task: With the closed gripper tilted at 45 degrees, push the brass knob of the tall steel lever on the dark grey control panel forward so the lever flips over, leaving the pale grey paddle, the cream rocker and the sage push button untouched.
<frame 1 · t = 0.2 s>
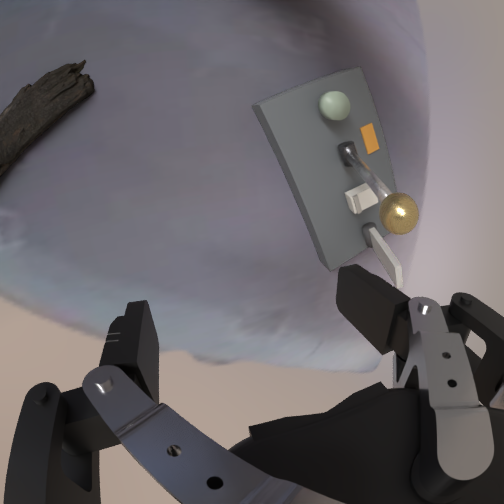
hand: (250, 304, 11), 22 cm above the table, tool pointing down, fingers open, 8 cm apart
wood: (20, 126, 20), on the table
control panel: (336, 168, 34), on the table
push button: (331, 105, 25), point 4 cm above the table, slide at 0.0 cm
brass lever: (369, 177, 23), point 11 cm above the table, hinge at -20.0°
cream rocker: (362, 197, 31), point 5 cm above the table, hinge at -8.0°
pale grey paddle: (382, 251, 31), point 8 cm above the table, hinge at -15.0°
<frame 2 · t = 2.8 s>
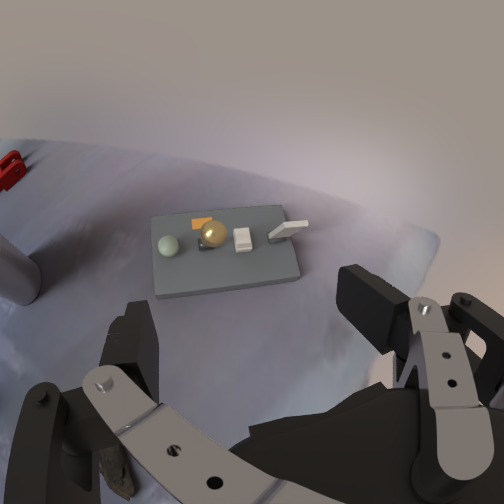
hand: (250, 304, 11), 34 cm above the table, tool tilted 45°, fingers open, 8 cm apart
wood: (107, 445, 32), on the table
mechanical linkage: (4, 185, 45), on the table
control panel: (222, 252, 48), on the table
push button: (168, 248, 42), point 4 cm above the table, slide at 0.0 cm
brass lever: (209, 239, 37), point 11 cm above the table, hinge at -20.0°
cream rocker: (242, 239, 45), point 5 cm above the table, hinge at -8.0°
pale grey paddle: (284, 231, 43), point 8 cm above the table, hinge at -15.0°
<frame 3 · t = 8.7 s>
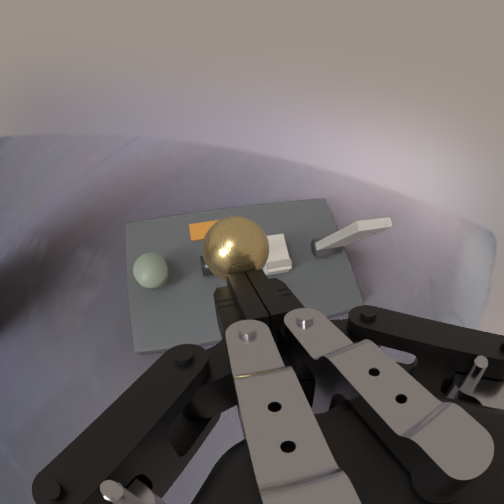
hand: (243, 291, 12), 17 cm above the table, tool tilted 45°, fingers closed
control panel: (240, 275, 31), on the table
push button: (152, 273, 25), point 4 cm above the table, slide at 0.0 cm
brass lever: (221, 259, 19), point 11 cm above the table, hinge at -20.0°, touching gripper
cream rocker: (274, 254, 27), point 5 cm above the table, hinge at -8.0°
pale grey paddle: (345, 237, 25), point 8 cm above the table, hinge at -15.0°
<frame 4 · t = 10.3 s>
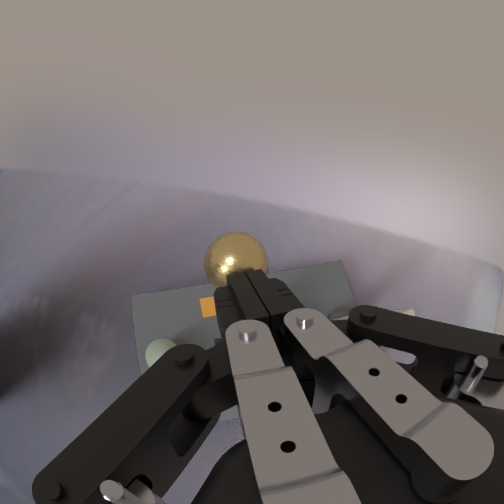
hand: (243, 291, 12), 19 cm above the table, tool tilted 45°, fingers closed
control panel: (253, 346, 29), on the table
push button: (165, 357, 23), point 4 cm above the table, slide at 0.0 cm
brass lever: (231, 318, 18), point 12 cm above the table, hinge at 9.2°, touching gripper
pale grey paddle: (364, 319, 23), point 8 cm above the table, hinge at -15.0°
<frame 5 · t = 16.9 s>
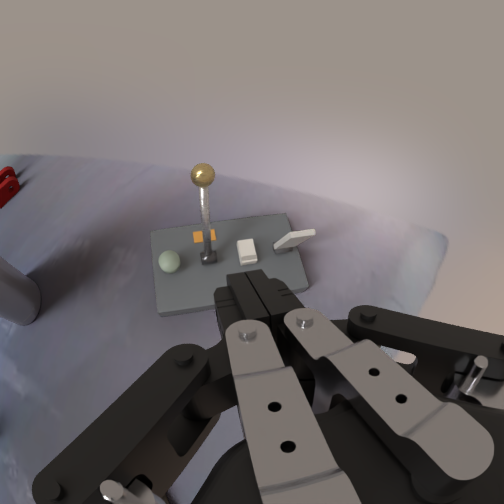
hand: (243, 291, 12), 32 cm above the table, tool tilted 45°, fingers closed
control panel: (226, 265, 46), on the table
push button: (170, 263, 41), point 4 cm above the table, slide at 0.0 cm
brass lever: (205, 219, 37), point 11 cm above the table, hinge at 22.4°
cream rocker: (246, 251, 43), point 5 cm above the table, hinge at -8.0°
pale grey paddle: (290, 241, 41), point 8 cm above the table, hinge at -15.0°
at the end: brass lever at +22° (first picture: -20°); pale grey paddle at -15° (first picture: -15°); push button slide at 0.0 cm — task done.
